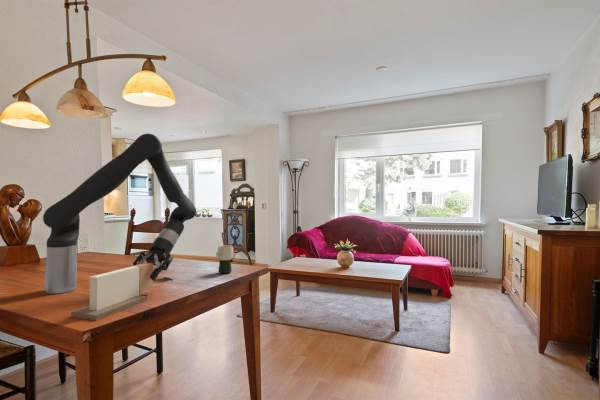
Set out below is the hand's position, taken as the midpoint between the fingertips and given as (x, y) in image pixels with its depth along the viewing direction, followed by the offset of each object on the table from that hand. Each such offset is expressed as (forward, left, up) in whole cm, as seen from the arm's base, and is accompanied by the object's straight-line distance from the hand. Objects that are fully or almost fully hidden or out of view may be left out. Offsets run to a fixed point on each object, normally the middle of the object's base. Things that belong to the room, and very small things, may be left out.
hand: (142, 277), depth 110 cm
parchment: (-12, +12, -7) cm, 19 cm away
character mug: (+9, +42, -7) cm, 44 cm away
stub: (0, +1, -5) cm, 5 cm away
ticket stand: (0, -12, -7) cm, 14 cm away
